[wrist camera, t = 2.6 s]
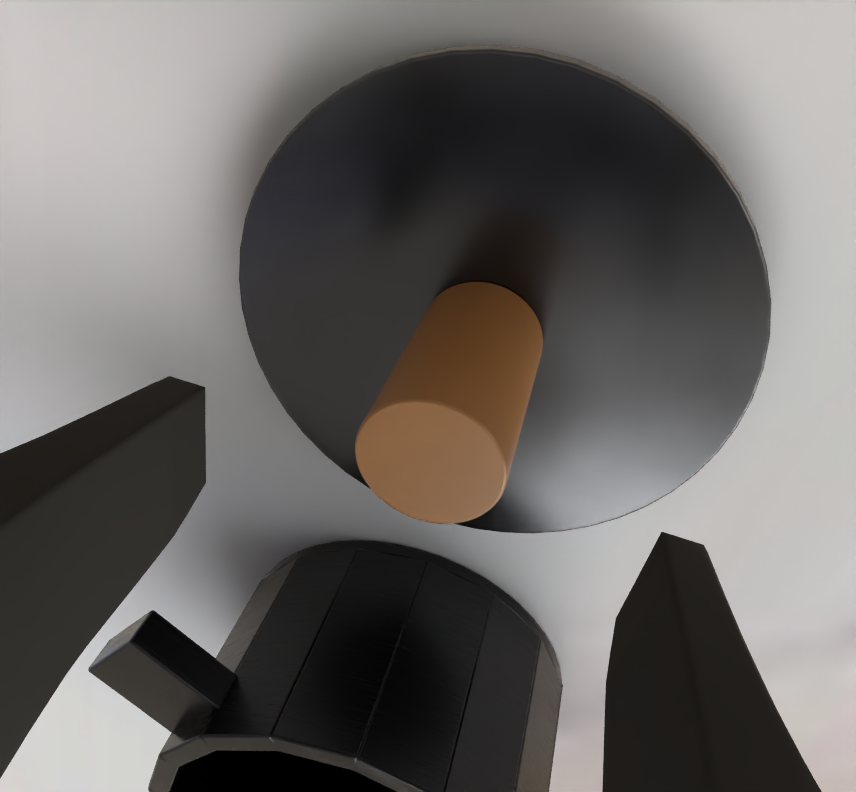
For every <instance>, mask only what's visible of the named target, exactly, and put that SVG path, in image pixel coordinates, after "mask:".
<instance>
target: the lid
mask: <svg viewBox="0 0 856 792" xmlns="http://www.w3.org/2000/svg"><path fill="white" fill-rule="evenodd" d="M239 283H240V292H241V302H242V310H243V314H244V318H245V322H246V327H247V331H248V335H249V338H250V341H251V344H252V347H253V349H254V352H255V355H256V357H257V360H258V363H259V365H260V367H261V369H262V371H263V373H264V375H265V377H266V379H267V381H268V383H269V385H270V387H271V389H272V390H273V392H274V393H275V395H276V396H277V398H278V400H279V401H280V403H281V404H282V406H283V407H284V409H285V410H286V412H287V413H288V414H289V416H290V417H291V418H292V419H293V421H294V422H295V423H296V424H297V426H298V427H299V428H300V429H301V431H302V432H303V433H304V434H305V435H306V436H307V437H308V438H309V439H310V440H311V441H312V442H313V443H314V444H315V445H316V446H317V447H318V448H319V449H320V450H321V451H322V452H323V453H324V454H325V455H326V456H327V457H328V458H329V459H331V460H332V461H333V462H334V463H335V464H337V465H338V466H339V467H340V468H341V469H343V470H344V471H345V472H346V473H348V474H349V475H351V476H352V477H354V478H355V479H357V480H358V481H360V482H361V483H363V484H364V485H365V486H367V487H368V488H370V489H372V491H373V492H374V493H375V494H376V495H377V496H378V497H379V498H380V499H382V500H383V501H384V502H385V503H386V504H388V505H389V506H391V507H392V508H394V509H396V510H397V511H399V512H401V513H403V514H405V515H407V516H410V517H412V518H415V519H418V520H422V521H426V522H431V523H439V524H452V523H453V524H458V525H462V526H467V527H471V528H475V529H483V530H491V531H499V532H513V533H542V532H556V531H565V530H571V529H577V528H582V527H588V526H592V525H596V524H599V523H603V522H606V521H610V520H613V519H617V518H620V517H622V516H624V515H627V514H629V513H632V512H634V511H636V510H639V509H641V508H644V507H646V506H648V505H649V504H651V503H653V502H655V501H656V500H658V499H660V498H662V497H663V496H665V495H667V494H669V493H671V492H672V491H673V490H675V489H676V488H677V487H679V486H680V485H681V484H683V483H684V482H685V481H687V480H688V479H689V478H691V477H692V476H693V475H695V474H696V473H697V472H698V471H699V470H700V469H701V468H702V467H703V466H704V465H705V464H706V463H707V462H708V461H709V460H710V459H711V458H712V457H713V456H714V455H715V454H716V453H717V452H718V451H719V450H720V448H721V447H722V446H723V444H724V443H725V442H726V441H727V439H728V438H729V437H730V435H731V434H732V433H733V431H734V430H735V429H736V428H737V426H738V424H739V422H740V420H741V419H742V417H743V415H744V413H745V411H746V410H747V408H748V406H749V404H750V402H751V401H752V398H753V396H754V393H755V390H756V388H757V385H758V382H759V379H760V377H761V374H762V371H763V368H764V363H765V358H766V353H767V348H768V343H769V338H770V318H771V297H770V289H769V281H768V273H767V265H766V261H765V258H764V254H763V251H762V247H761V244H760V240H759V237H758V233H757V230H756V227H755V223H754V221H753V218H752V216H751V214H750V212H749V210H748V208H747V206H746V204H745V201H744V199H743V197H742V195H741V193H740V191H739V189H738V187H737V185H736V184H735V182H734V181H733V179H732V178H731V176H730V175H729V173H728V172H727V170H726V169H725V167H724V166H723V164H722V163H721V161H720V160H719V159H718V157H717V156H716V154H715V153H714V152H713V151H712V150H711V149H710V148H709V146H708V145H707V144H706V143H705V142H704V141H703V140H702V139H701V138H700V137H699V136H698V135H697V133H696V132H695V131H694V130H693V129H692V128H691V127H690V126H689V125H688V124H687V123H686V122H685V121H683V120H682V119H681V118H680V117H679V116H677V115H676V114H675V113H674V112H672V111H671V110H670V109H669V108H667V107H666V106H665V105H664V104H662V103H661V102H660V101H659V100H658V99H656V98H655V97H653V96H652V95H650V94H648V93H647V92H645V91H643V90H641V89H640V88H638V87H636V86H635V85H633V84H631V83H630V82H628V81H626V80H625V79H623V78H621V77H620V76H618V75H615V74H613V73H610V72H608V71H605V70H603V69H601V68H598V67H596V66H593V65H591V64H588V63H586V62H584V61H581V60H578V59H574V58H571V57H567V56H563V55H559V54H555V53H551V52H547V51H543V50H539V49H531V48H521V47H512V46H502V45H482V46H457V47H450V48H445V49H440V50H435V51H429V52H424V53H419V54H415V55H412V56H409V57H406V58H403V59H401V60H398V61H395V62H392V63H389V64H386V65H384V66H381V67H379V68H377V69H375V70H373V71H371V72H369V73H367V74H365V75H364V76H362V77H360V78H358V79H356V80H354V81H352V82H350V83H349V84H347V85H345V86H344V87H342V88H340V89H339V90H338V91H336V92H335V93H334V94H332V95H331V96H330V97H328V98H327V99H326V100H324V101H323V102H322V103H320V104H319V105H318V106H316V107H315V108H314V109H312V110H311V111H310V112H309V113H308V114H307V115H306V116H305V117H304V119H303V120H302V121H301V122H300V123H299V124H298V125H297V126H296V127H295V128H294V129H293V130H292V131H291V132H290V133H289V134H288V135H287V137H286V138H285V139H284V141H283V142H282V144H281V145H280V146H279V148H278V149H277V151H276V152H275V153H274V155H273V156H272V158H271V159H270V160H269V162H268V164H267V166H266V168H265V170H264V172H263V174H262V176H261V178H260V180H259V182H258V184H257V186H256V188H255V191H254V194H253V197H252V200H251V203H250V206H249V209H248V212H247V215H246V218H245V224H244V229H243V235H242V241H241V247H240V268H239Z"/></svg>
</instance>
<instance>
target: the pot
mask: <svg viewBox="0 0 856 792" xmlns="http://www.w3.org/2000/svg"><path fill="white" fill-rule="evenodd" d="M89 672H91V673H92V674H93V675H95V676H96V677H97V678H99V679H100V680H101V681H103V682H104V683H105V684H107V685H108V686H109V687H111V688H112V689H114V690H115V691H116V692H118V693H119V694H120V695H122V696H123V697H124V698H126V699H127V700H128V701H130V702H131V703H132V704H134V705H135V706H137V707H138V708H139V709H141V710H142V711H143V712H145V713H146V714H147V715H149V716H150V717H151V718H153V719H154V720H156V721H157V722H158V723H160V724H161V725H162V726H164V727H165V728H166V729H168V730H169V731H170V732H172V733H171V735H170V737H169V738H168V740H167V742H166V744H165V745H164V747H163V749H162V750H161V752H160V754H159V756H158V759H157V762H156V765H155V768H154V771H153V774H152V777H151V780H150V783H149V788H148V790H149V792H549V786H550V778H551V771H552V763H553V755H554V748H555V740H556V733H557V725H558V717H559V710H560V702H561V695H562V687H563V685H562V678H561V672H560V666H559V663H558V660H557V658H556V655H555V652H554V649H553V648H552V646H551V644H550V642H549V640H548V639H547V637H546V635H545V633H544V632H543V631H542V629H541V628H540V627H539V626H538V624H537V623H536V622H535V620H534V619H533V618H532V617H531V616H530V615H529V614H528V613H527V612H526V611H525V610H524V609H523V608H522V607H521V605H520V604H518V603H517V602H516V601H515V600H514V599H512V598H511V597H510V596H509V595H508V594H506V593H505V592H504V591H503V590H501V589H500V588H498V587H497V586H495V585H494V584H492V583H491V582H489V581H488V580H486V579H485V578H483V577H482V576H480V575H478V574H476V573H474V572H472V571H471V570H469V569H467V568H465V567H463V566H461V565H459V564H456V563H454V562H452V561H449V560H447V559H445V558H442V557H440V556H437V555H434V554H431V553H428V552H425V551H422V550H418V549H414V548H410V547H406V546H401V545H397V544H390V543H383V542H375V541H341V542H331V543H326V544H321V545H316V546H313V547H310V548H307V549H304V550H301V551H299V552H297V553H295V554H293V555H291V556H289V557H288V558H286V559H284V560H283V561H282V562H281V563H279V564H278V565H277V566H276V567H274V568H273V569H272V571H271V572H270V573H269V574H268V575H267V577H266V578H264V579H263V580H262V581H261V582H260V584H259V585H258V587H257V589H256V590H255V592H254V594H253V595H252V597H251V599H250V601H249V602H248V604H247V606H246V607H245V609H244V611H243V613H242V614H241V616H240V618H239V619H238V621H237V623H236V624H235V626H234V628H233V630H232V631H231V633H230V635H229V636H228V638H227V640H226V641H225V643H224V645H223V647H222V648H221V650H220V652H219V653H218V655H217V657H216V658H214V657H213V656H211V655H210V654H209V653H208V652H206V651H205V650H204V649H203V648H201V647H200V646H199V645H197V644H196V643H195V642H194V641H192V640H191V639H190V638H189V637H187V636H186V635H185V634H183V633H182V632H181V631H180V630H178V629H177V628H176V627H174V626H173V625H172V624H171V623H169V622H168V621H167V620H166V619H164V618H163V617H162V616H160V615H159V614H158V613H157V612H155V611H153V610H152V611H150V612H149V613H147V614H146V615H144V616H143V617H142V618H140V619H139V620H137V621H136V622H135V623H133V624H132V625H130V626H129V627H127V628H126V629H125V630H123V631H122V632H120V633H119V634H118V635H116V636H115V637H113V638H112V639H110V640H109V642H108V643H107V644H106V646H105V647H104V648H103V650H102V651H101V652H100V654H99V655H98V656H97V658H96V659H95V660H94V662H93V663H92V664H91V666H90V667H89Z"/></svg>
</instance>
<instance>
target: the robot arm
mask: <svg viewBox="0 0 856 792" xmlns="http://www.w3.org/2000/svg"><path fill="white" fill-rule="evenodd" d="M205 483H206V435H205V387H202V386H199V385H196V384H193V383H190V382H186V381H183V380H180V379H177V378H174V377H171V376H169V377H167V378H164V379H162V380H160V381H157V382H155V383H153V384H151V385H149V386H147V387H145V388H142V389H140V390H138V391H136V392H134V393H132V394H130V395H128V396H126V397H124V398H122V399H120V400H117V401H115V402H113V403H111V404H109V405H107V406H105V407H103V408H101V409H99V410H97V411H95V412H93V413H90V414H88V415H86V416H84V417H82V418H80V419H77V420H75V421H73V422H71V423H69V424H67V425H65V426H62V427H60V428H58V429H56V430H54V431H52V432H50V433H47V434H45V435H43V436H41V437H39V438H36V439H34V440H31V441H29V442H27V443H24V444H22V445H19V446H17V447H15V448H12V449H10V450H8V451H5V452H3V453H0V778H1V776H2V775H3V773H4V772H5V770H6V768H7V767H8V765H9V763H10V762H11V760H12V759H13V757H14V755H15V754H16V752H17V750H18V749H19V747H20V746H21V744H22V742H23V741H24V739H25V737H26V736H27V734H28V732H29V731H30V729H31V728H32V726H33V725H34V723H35V722H36V720H37V718H38V717H39V715H40V714H41V712H42V711H43V709H44V708H45V706H46V705H47V703H48V701H49V700H50V698H51V697H52V695H53V694H54V692H55V691H56V689H57V688H58V686H59V684H60V683H61V681H62V680H63V678H64V677H65V675H66V674H67V672H68V671H69V670H70V668H71V667H72V665H73V664H74V663H75V661H76V660H77V659H78V657H79V656H80V655H81V653H82V652H83V650H84V649H85V648H86V646H87V645H88V644H89V643H90V641H91V640H92V639H93V638H94V636H95V635H96V634H97V633H98V631H99V630H100V629H101V628H102V626H103V625H104V624H105V623H106V621H107V620H108V619H109V618H110V616H111V615H112V614H113V613H114V611H115V610H116V609H117V607H118V606H119V605H120V604H121V602H122V601H123V600H124V599H125V597H126V596H127V595H128V594H129V592H130V591H131V590H132V589H133V587H134V586H135V585H136V584H137V582H138V581H139V580H140V579H141V577H142V576H143V575H144V574H145V572H146V571H147V570H148V568H149V567H150V566H151V565H152V563H153V562H154V561H155V560H156V558H157V557H158V556H159V554H160V553H161V552H162V551H163V549H164V548H165V547H166V545H167V544H168V543H169V542H170V540H171V539H172V538H173V536H174V535H175V533H176V532H177V530H178V528H179V527H180V525H181V524H182V522H183V520H184V519H185V517H186V516H187V514H188V512H189V511H190V509H191V507H192V505H193V504H194V502H195V500H196V499H197V497H198V495H199V493H200V492H201V490H202V488H203V486H204V485H205ZM603 792H821V790H820V788H819V787H818V785H817V783H816V781H815V780H814V778H813V776H812V774H811V773H810V771H809V769H808V767H807V765H806V764H805V762H804V760H803V758H802V756H801V754H800V753H799V751H798V749H797V747H796V745H795V743H794V741H793V739H792V738H791V736H790V734H789V732H788V730H787V728H786V726H785V724H784V723H783V721H782V719H781V717H780V715H779V713H778V711H777V709H776V707H775V705H774V703H773V701H772V699H771V697H770V695H769V692H768V690H767V688H766V686H765V684H764V682H763V680H762V678H761V675H760V673H759V671H758V669H757V667H756V665H755V663H754V661H753V658H752V656H751V654H750V652H749V650H748V648H747V645H746V643H745V641H744V639H743V636H742V634H741V632H740V630H739V627H738V625H737V623H736V620H735V618H734V616H733V613H732V611H731V608H730V606H729V604H728V601H727V599H726V596H725V594H724V592H723V589H722V587H721V584H720V582H719V579H718V577H717V574H716V572H715V569H714V567H713V564H712V562H711V560H710V557H709V555H708V552H707V550H706V549H705V547H704V545H702V544H699V543H696V542H693V541H689V540H686V539H683V538H680V537H677V536H674V535H670V534H667V533H664V532H661V534H660V536H659V538H658V540H657V542H656V544H655V546H654V548H653V549H652V551H651V553H650V555H649V557H648V559H647V561H646V563H645V565H644V566H643V568H642V570H641V572H640V574H639V576H638V578H637V580H636V582H635V583H634V585H633V587H632V589H631V591H630V593H629V595H628V597H627V599H626V600H625V602H624V604H623V606H622V608H621V610H620V612H619V614H618V616H617V618H616V622H615V628H614V634H613V640H612V646H611V652H610V659H609V666H608V673H607V680H606V699H605V728H604V763H603Z"/></svg>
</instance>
